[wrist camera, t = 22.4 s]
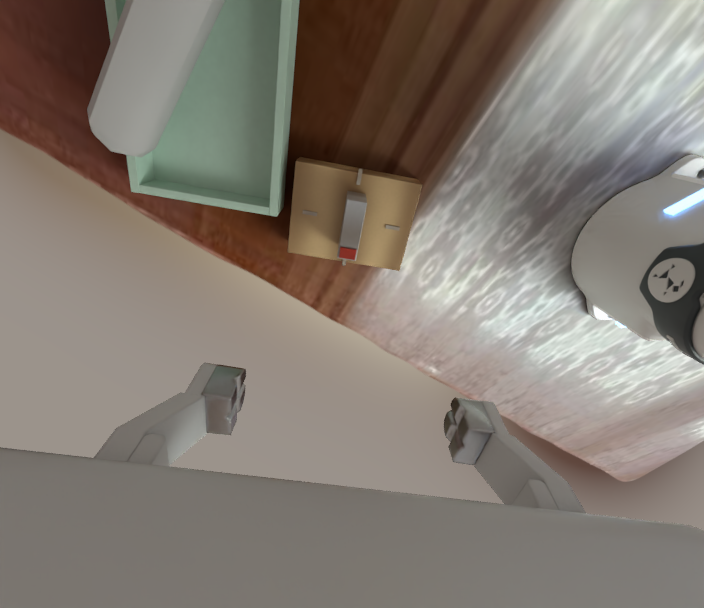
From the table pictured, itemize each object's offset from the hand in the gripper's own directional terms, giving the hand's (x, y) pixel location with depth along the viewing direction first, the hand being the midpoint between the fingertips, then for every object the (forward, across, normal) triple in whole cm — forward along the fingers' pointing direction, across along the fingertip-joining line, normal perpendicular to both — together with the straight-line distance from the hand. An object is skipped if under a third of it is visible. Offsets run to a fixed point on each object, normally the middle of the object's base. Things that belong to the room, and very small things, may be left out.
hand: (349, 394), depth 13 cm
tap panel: (+27, 0, 0) cm, 27 cm away
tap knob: (+24, 0, 0) cm, 24 cm away
